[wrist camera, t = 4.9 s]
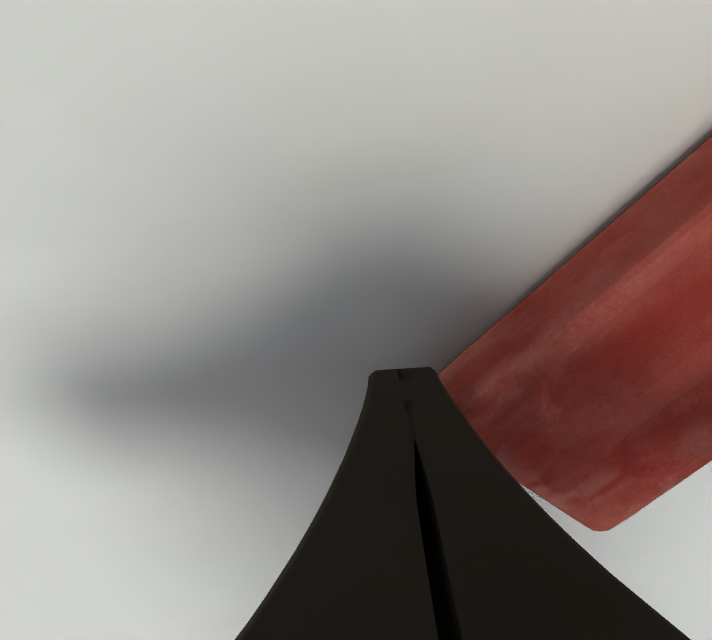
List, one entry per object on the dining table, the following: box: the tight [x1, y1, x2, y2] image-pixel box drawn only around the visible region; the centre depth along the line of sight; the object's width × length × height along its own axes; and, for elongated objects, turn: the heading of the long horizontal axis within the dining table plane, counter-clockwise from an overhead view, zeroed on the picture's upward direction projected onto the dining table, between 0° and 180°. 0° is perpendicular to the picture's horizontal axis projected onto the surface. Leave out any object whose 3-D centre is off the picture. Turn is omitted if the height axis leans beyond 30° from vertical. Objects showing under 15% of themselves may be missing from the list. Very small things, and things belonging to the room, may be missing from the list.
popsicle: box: [438, 136, 712, 531], centre depth 9 cm, size 4×2×15 cm
